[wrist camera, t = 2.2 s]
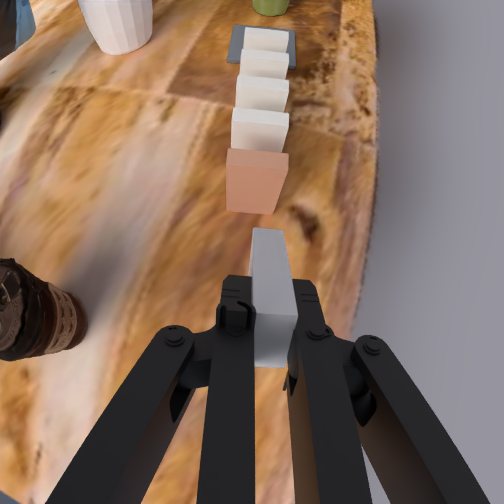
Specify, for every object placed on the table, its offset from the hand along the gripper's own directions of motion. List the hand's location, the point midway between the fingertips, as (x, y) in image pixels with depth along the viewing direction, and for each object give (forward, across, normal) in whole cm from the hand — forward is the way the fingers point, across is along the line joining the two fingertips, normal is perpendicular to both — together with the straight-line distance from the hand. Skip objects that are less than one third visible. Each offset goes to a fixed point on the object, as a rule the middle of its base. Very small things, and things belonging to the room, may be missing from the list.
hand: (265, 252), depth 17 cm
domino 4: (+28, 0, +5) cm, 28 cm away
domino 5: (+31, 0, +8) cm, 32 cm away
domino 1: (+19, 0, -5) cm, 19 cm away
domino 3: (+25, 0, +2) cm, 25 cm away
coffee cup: (+8, -20, -15) cm, 26 cm away
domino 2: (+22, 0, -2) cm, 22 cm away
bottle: (+39, -23, +16) cm, 48 cm away
